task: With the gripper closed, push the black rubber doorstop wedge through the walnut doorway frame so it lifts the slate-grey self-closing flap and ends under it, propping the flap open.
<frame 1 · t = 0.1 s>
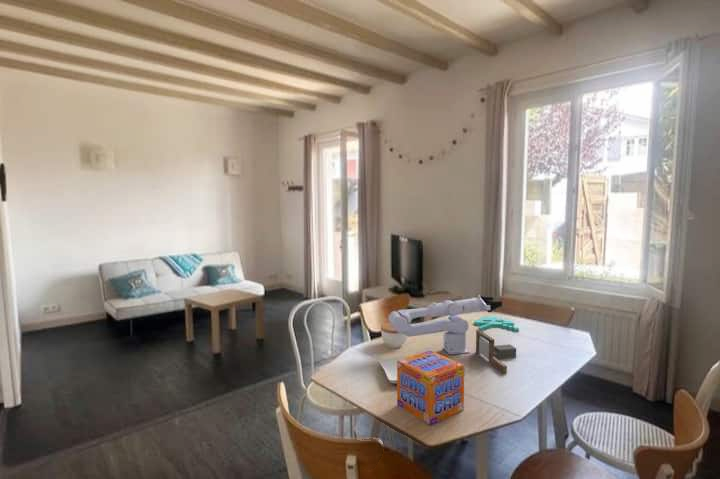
hand: (497, 301, 182), 22 cm above the table, tool horizontal, fingers open, 7 cm apart
lidded bowl: (394, 345, 189), on the table
salad plate: (409, 375, 157), on the table
game box: (429, 408, 132), on the table
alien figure: (494, 326, 217), on the table
flap: (484, 347, 172), point 4 cm above the table, hinge at 0.0°
wedge: (502, 356, 174), on the table
doorway frame: (484, 357, 173), on the table
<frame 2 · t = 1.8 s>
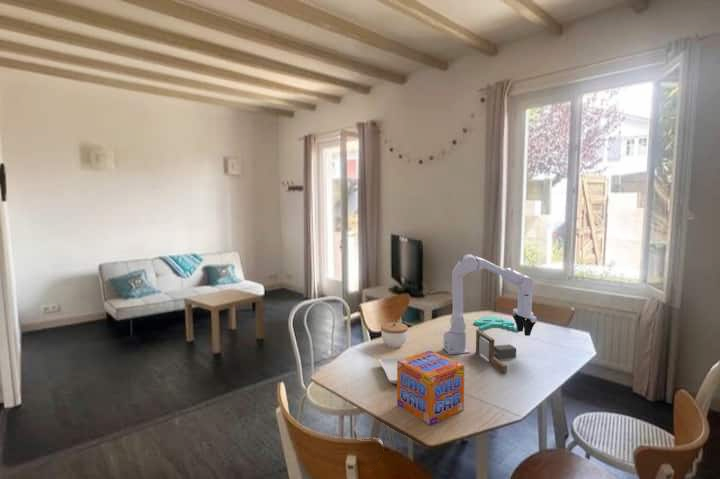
hand: (523, 333, 175), 9 cm above the table, tool pointing down, fingers open, 5 cm apart
nothing on the table moved.
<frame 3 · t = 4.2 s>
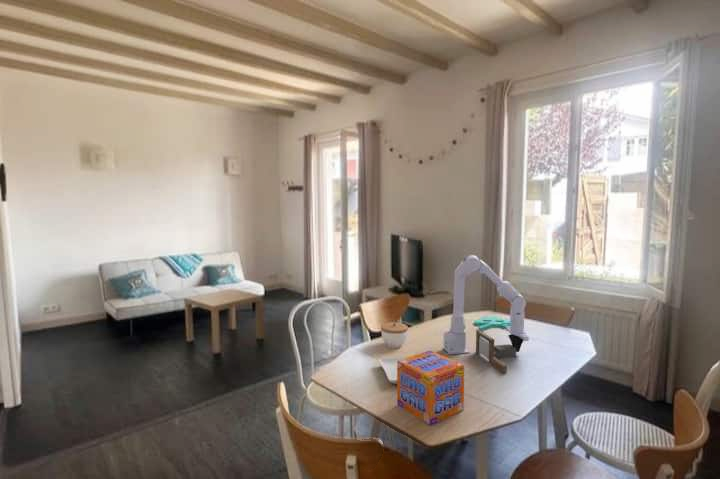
hand: (516, 351, 175), 1 cm above the table, tool pointing down, fingers closed, pressing on wedge
wedge: (502, 355, 174), on the table, touching gripper
everything else where it was.
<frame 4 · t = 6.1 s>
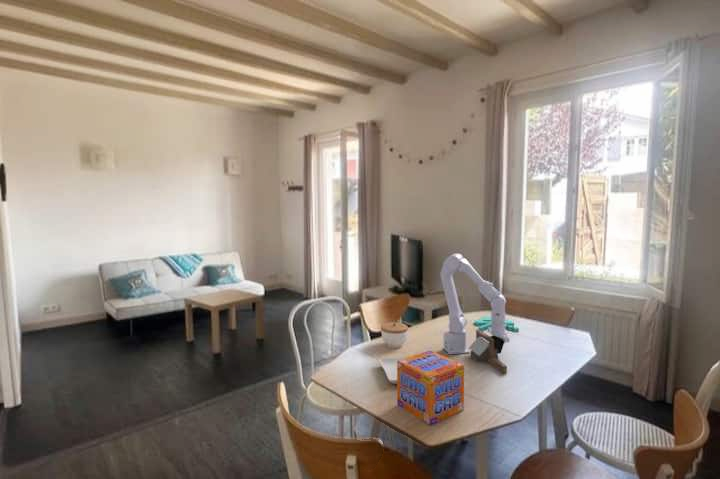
hand: (498, 352, 173), 2 cm above the table, tool pointing down, fingers closed, pressing on wedge
flap: (479, 346, 172), point 5 cm above the table, hinge at 43.9°, touching wedge
wedge: (484, 357, 172), on the table, touching flap, gripper
everything else where it was.
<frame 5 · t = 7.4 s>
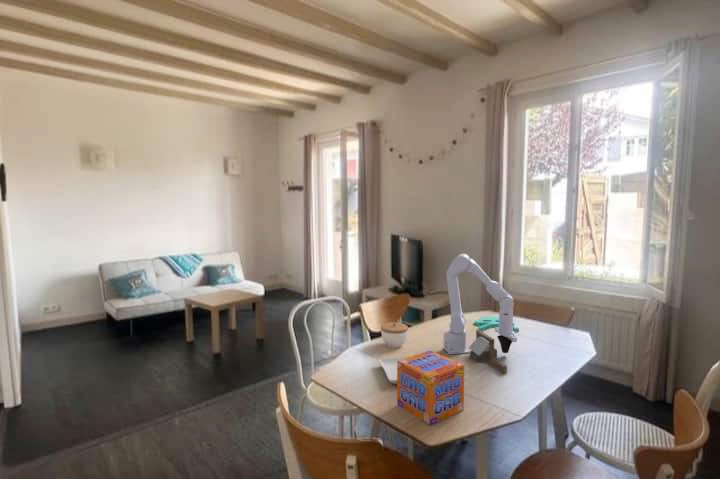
hand: (505, 352, 174), 1 cm above the table, tool pointing down, fingers closed
flap: (479, 345, 172), point 5 cm above the table, hinge at 45.5°, touching wedge
wedge: (483, 357, 172), on the table, touching flap
everything else where it was.
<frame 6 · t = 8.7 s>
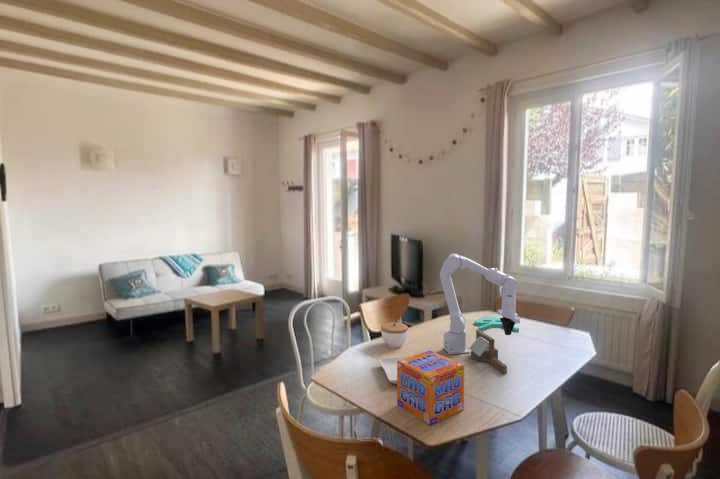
hand: (507, 334, 174), 9 cm above the table, tool pointing down, fingers closed
flap: (479, 346, 172), point 5 cm above the table, hinge at 41.5°, touching wedge
everything else where it was.
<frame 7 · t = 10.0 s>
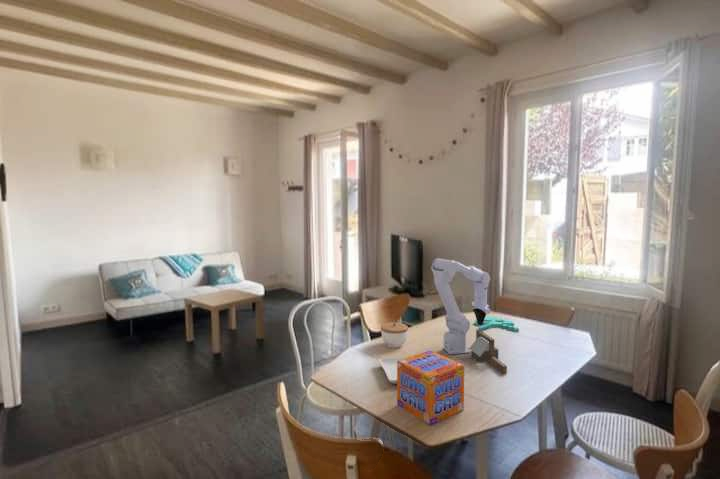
hand: (480, 324, 188), 9 cm above the table, tool pointing down, fingers closed
nothing on the table moved.
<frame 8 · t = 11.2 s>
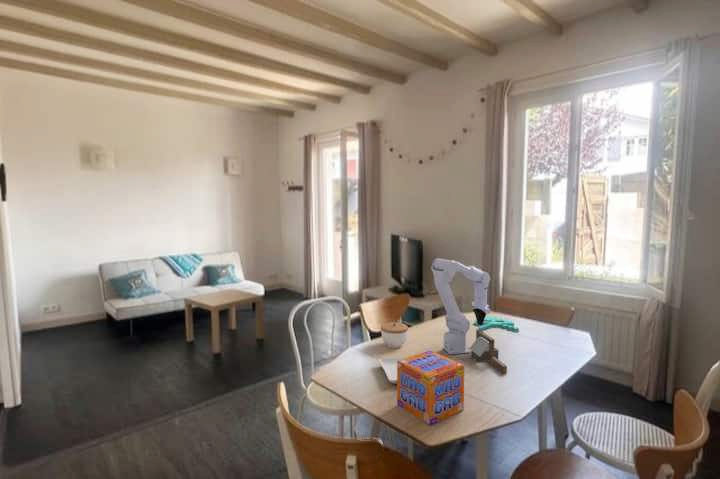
hand: (480, 324, 188), 9 cm above the table, tool pointing down, fingers closed
flap: (479, 346, 172), point 5 cm above the table, hinge at 40.8°, touching wedge
everything else where it was.
at the end: flap at +41° (first picture: +0°); wedge inside the target area (0.6 cm from its centre), on the table; the gripper is holding nothing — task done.
